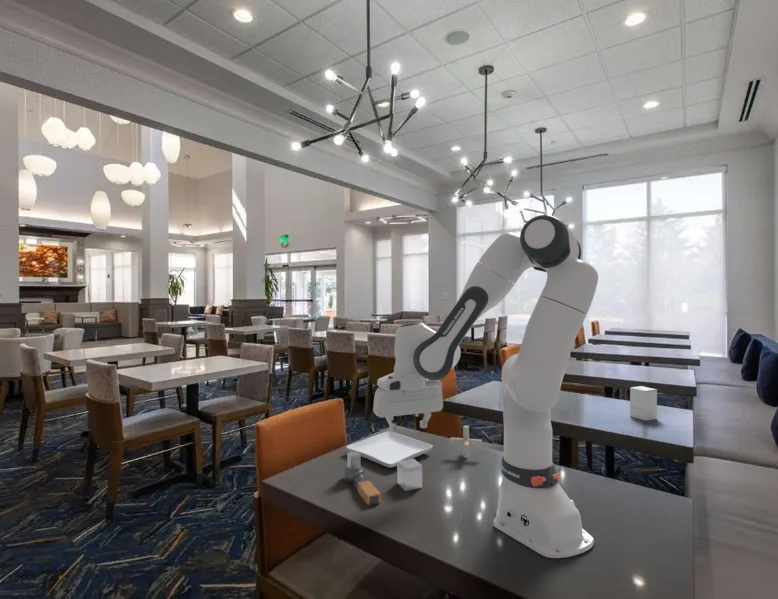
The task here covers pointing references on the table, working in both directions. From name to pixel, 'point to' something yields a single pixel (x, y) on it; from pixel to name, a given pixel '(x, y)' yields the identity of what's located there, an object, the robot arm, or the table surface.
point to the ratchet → (360, 479)
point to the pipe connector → (466, 441)
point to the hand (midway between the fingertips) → (408, 429)
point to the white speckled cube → (409, 474)
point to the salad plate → (389, 448)
